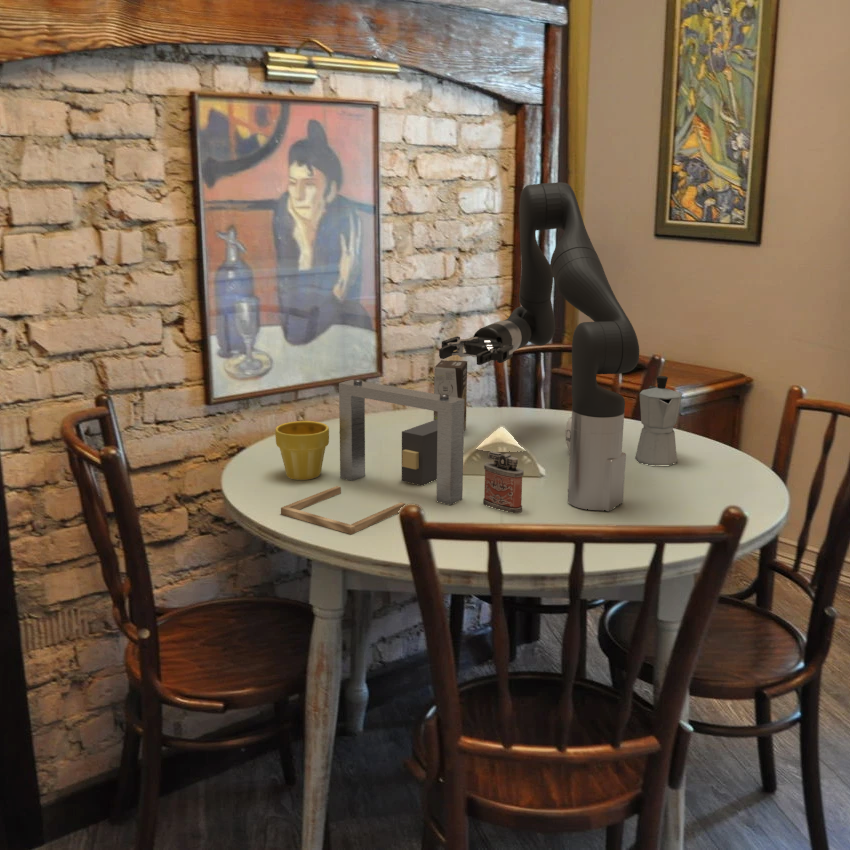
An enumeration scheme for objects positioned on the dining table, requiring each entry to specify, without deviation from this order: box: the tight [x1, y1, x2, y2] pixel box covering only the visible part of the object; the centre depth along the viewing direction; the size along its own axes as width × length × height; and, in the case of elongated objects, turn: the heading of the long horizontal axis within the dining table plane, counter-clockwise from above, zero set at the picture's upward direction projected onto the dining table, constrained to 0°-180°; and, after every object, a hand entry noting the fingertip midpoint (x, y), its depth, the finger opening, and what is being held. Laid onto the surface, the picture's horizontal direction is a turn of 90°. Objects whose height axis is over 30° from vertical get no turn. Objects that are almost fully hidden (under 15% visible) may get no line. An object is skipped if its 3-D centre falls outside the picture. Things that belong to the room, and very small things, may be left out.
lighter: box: [482, 450, 525, 514], centre depth 175 cm, size 8×3×10 cm, turn 48°
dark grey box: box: [401, 419, 438, 486], centre depth 192 cm, size 5×13×10 cm, turn 144°
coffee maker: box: [634, 375, 683, 466], centre depth 204 cm, size 15×9×18 cm, turn 0°
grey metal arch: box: [338, 379, 465, 506], centre depth 183 cm, size 26×4×20 cm, turn 54°
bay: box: [280, 485, 406, 535], centre depth 173 cm, size 16×15×1 cm
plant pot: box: [274, 420, 330, 481], centre depth 192 cm, size 10×10×10 cm
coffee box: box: [433, 359, 468, 431], centre depth 223 cm, size 9×6×16 cm
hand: (459, 357), depth 196 cm, fingers open, 8 cm apart
